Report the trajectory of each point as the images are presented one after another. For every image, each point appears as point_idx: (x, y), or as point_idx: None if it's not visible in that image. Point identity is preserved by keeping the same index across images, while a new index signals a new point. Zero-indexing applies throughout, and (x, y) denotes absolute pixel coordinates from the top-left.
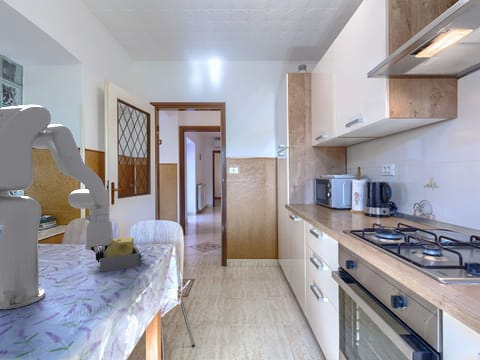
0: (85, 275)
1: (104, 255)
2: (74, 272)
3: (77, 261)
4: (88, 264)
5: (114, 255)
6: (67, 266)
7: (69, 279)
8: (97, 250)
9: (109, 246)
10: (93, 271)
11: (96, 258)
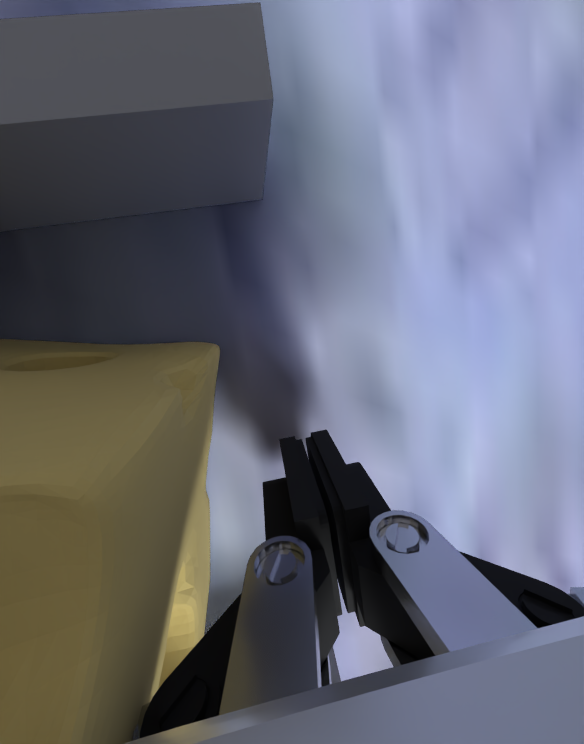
0: (408, 95)
1: None
2: (516, 278)
3: None
4: (409, 503)
5: (10, 372)
6: (568, 495)
7: (558, 13)
8: (397, 562)
9: (27, 664)
10: (337, 229)
11: (356, 473)
